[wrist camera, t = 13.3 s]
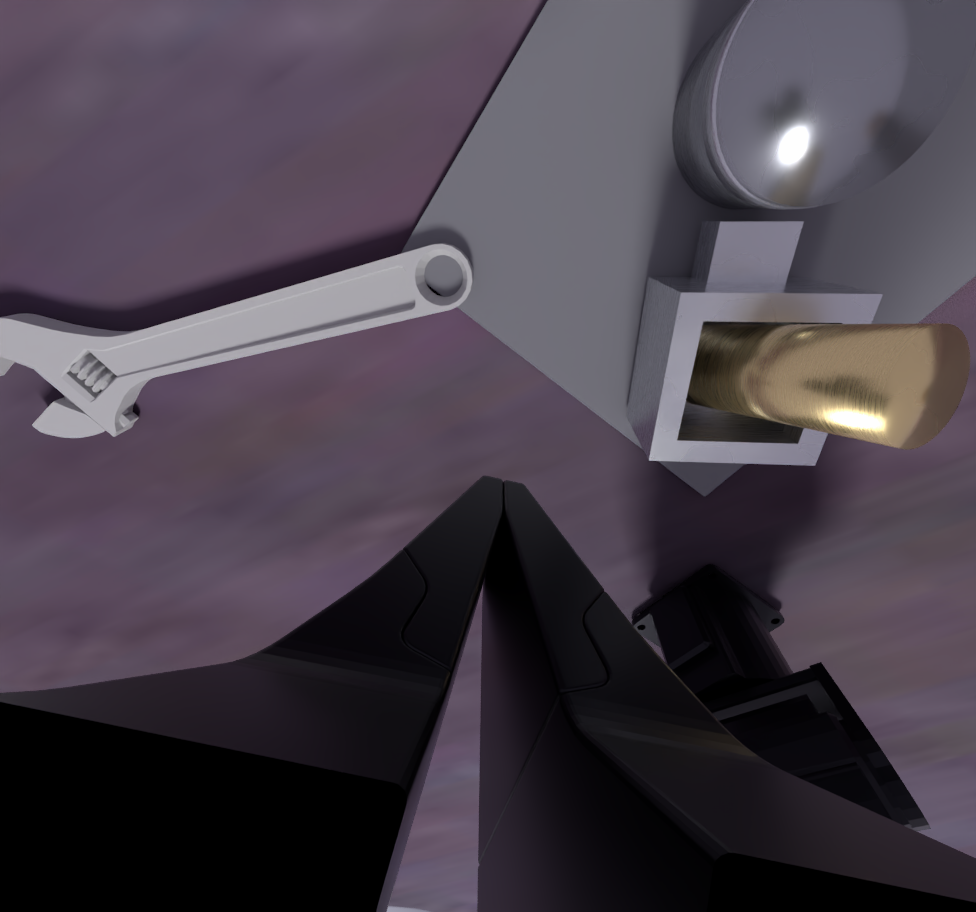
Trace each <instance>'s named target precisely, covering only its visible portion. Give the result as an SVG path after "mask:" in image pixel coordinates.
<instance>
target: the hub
mask: <svg viewBox="0 0 976 912" xmlns="http://www.w3.org/2000/svg"><path fill="white" fill-rule="evenodd" d="M975 43H976V0H747V2H746V3H745V4H744V5H743V6H742V7H741V8H740V9H739V10H738V11H737V12H736V13H734V14H733V15H732V16H731V17H730V18H729V19H728V20H727V21H726V22H725V23H724V24H723V25H722V26H721V27H720V28H719V29H718V30H717V31H716V32H715V33H714V34H713V35H712V36H711V37H710V38H709V40H708V41H707V42H706V43H705V44H704V46H703V47H702V48H701V50H700V51H699V53H698V54H697V56H696V57H695V59H694V60H693V62H692V64H691V66H690V67H689V69H688V71H687V73H686V75H685V78H684V80H683V82H682V85H681V87H680V90H679V94H678V97H677V100H676V104H675V109H674V114H673V124H672V143H673V150H674V155H675V159H676V163H677V166H678V168H679V170H680V173H681V175H682V177H683V178H684V180H685V182H686V183H687V185H688V186H689V187H690V188H691V189H692V190H693V192H695V193H696V194H697V195H698V196H699V197H701V198H702V199H704V200H705V201H707V202H709V203H711V204H713V205H716V206H719V207H723V208H728V209H762V208H766V209H779V210H785V209H805V208H813V207H818V206H822V205H827V204H831V203H836V202H839V201H842V200H845V199H847V198H850V197H853V196H855V195H857V194H859V193H861V192H863V191H865V190H867V189H869V188H870V187H872V186H874V185H875V184H877V183H879V182H880V181H882V180H883V179H885V178H886V177H887V176H889V175H890V174H891V173H893V172H894V171H895V170H897V169H898V168H899V167H900V166H901V165H902V164H903V163H904V162H906V161H907V160H908V159H909V158H910V157H911V156H912V155H913V154H914V153H915V152H916V151H917V150H918V149H919V148H920V146H921V145H922V144H923V143H924V142H925V141H926V140H927V138H928V137H929V136H930V135H931V133H932V132H933V131H934V130H935V128H936V127H937V126H938V124H939V123H940V121H941V120H942V118H943V117H944V115H945V114H946V112H947V111H948V109H949V107H950V105H951V104H952V102H953V100H954V98H955V96H956V94H957V93H958V91H959V89H960V86H961V84H962V82H963V79H964V77H965V75H966V72H967V70H968V67H969V64H970V61H971V58H972V55H973V52H974V48H975Z"/></svg>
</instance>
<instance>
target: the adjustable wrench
mask: <svg viewBox="0 0 976 912" xmlns="http://www.w3.org/2000/svg"><path fill="white" fill-rule="evenodd" d="M439 255H446V256H450V257H452V258H453V259H455V260H456V261H457V262H458V264H459V265H460V267H461V269H462V272H463V282H462V285H461V287H460V289H459V290H458V291H457V292H456V293H455V294H454V295H452V296H449V297H443V296H439V295H436V294H435V293H433V292H432V291H431V290H430V289H429V288H428V286H427V284H426V282H425V278H424V272H425V268H426V265H427V263H428V262H429V261H430V260H431V259H432V258H434V257H436V256H439ZM473 280H474V277H473V268H472V266H471V263H470V261H469V259H468V257H467V256H466V255H465V254H464V253H463V251H462V250H460V249H458V248H457V247H455V246H454V245H450V244H446V243H439V244H433V245H429V246H426V247H422V248H419V249H415V250H412V251H409V252H405V253H402V254H398V255H395V256H392V257H388V258H385V259H381V260H378V261H375V262H371V263H368V264H364V265H361V266H358V267H354V268H351V269H347V270H344V271H340V272H337V273H334V274H330V275H327V276H323V277H320V278H317V279H313V280H310V281H306V282H303V283H300V284H296V285H293V286H289V287H286V288H283V289H279V290H276V291H272V292H269V293H265V294H262V295H259V296H255V297H252V298H248V299H245V300H242V301H238V302H235V303H231V304H228V305H225V306H221V307H218V308H214V309H211V310H208V311H204V312H201V313H197V314H194V315H190V316H187V317H184V318H180V319H177V320H173V321H170V322H167V323H163V324H160V325H156V326H153V327H150V328H146V329H142V330H136V331H111V330H104V329H98V328H91V327H85V326H80V325H75V324H71V323H67V322H63V321H59V320H55V319H52V318H48V317H44V316H40V315H36V314H28V313H22V314H15V315H9V316H4V317H0V376H2V375H5V373H6V372H7V371H8V370H9V368H10V367H11V366H12V365H13V363H14V362H17V363H19V364H22V365H25V366H27V367H30V368H33V369H34V370H35V371H36V372H38V373H39V374H40V375H41V376H42V377H43V378H44V379H45V380H47V381H48V382H49V383H50V384H51V385H53V386H54V387H55V388H56V389H57V390H59V391H60V392H61V393H62V394H63V395H64V396H65V397H64V398H61V399H58V400H56V401H53V402H52V403H51V405H50V406H49V407H48V408H47V409H46V410H45V411H44V412H43V413H42V414H41V416H40V417H39V418H38V419H37V420H36V421H35V422H34V423H33V424H32V426H33V427H35V428H36V429H37V430H38V431H40V432H42V433H45V434H49V435H53V436H58V437H65V438H82V437H88V436H92V435H96V434H99V433H102V432H104V431H107V432H109V433H110V434H111V435H112V436H113V437H115V436H117V435H119V434H121V433H122V432H124V431H126V430H128V429H130V428H132V426H133V424H134V422H135V421H136V420H137V419H138V418H139V417H138V416H137V415H136V414H135V413H134V412H133V406H134V403H135V401H136V399H137V397H138V395H139V393H140V391H141V389H142V387H143V386H144V385H145V384H146V383H147V382H148V381H149V380H150V379H152V378H154V377H158V376H162V375H167V374H171V373H176V372H180V371H184V370H189V369H193V368H198V367H202V366H206V365H211V364H215V363H219V362H224V361H228V360H233V359H237V358H241V357H246V356H250V355H254V354H259V353H263V352H268V351H272V350H276V349H281V348H285V347H289V346H294V345H298V344H303V343H307V342H311V341H316V340H320V339H325V338H329V337H333V336H338V335H342V334H346V333H351V332H355V331H360V330H364V329H368V328H373V327H377V326H381V325H386V324H390V323H395V322H399V321H403V320H408V319H412V318H417V317H421V316H425V315H430V314H434V313H438V312H443V311H447V310H451V309H453V308H455V307H458V306H459V305H460V304H461V303H462V302H463V301H465V300H466V298H467V297H468V295H469V293H470V291H471V289H472V285H473Z"/></svg>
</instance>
